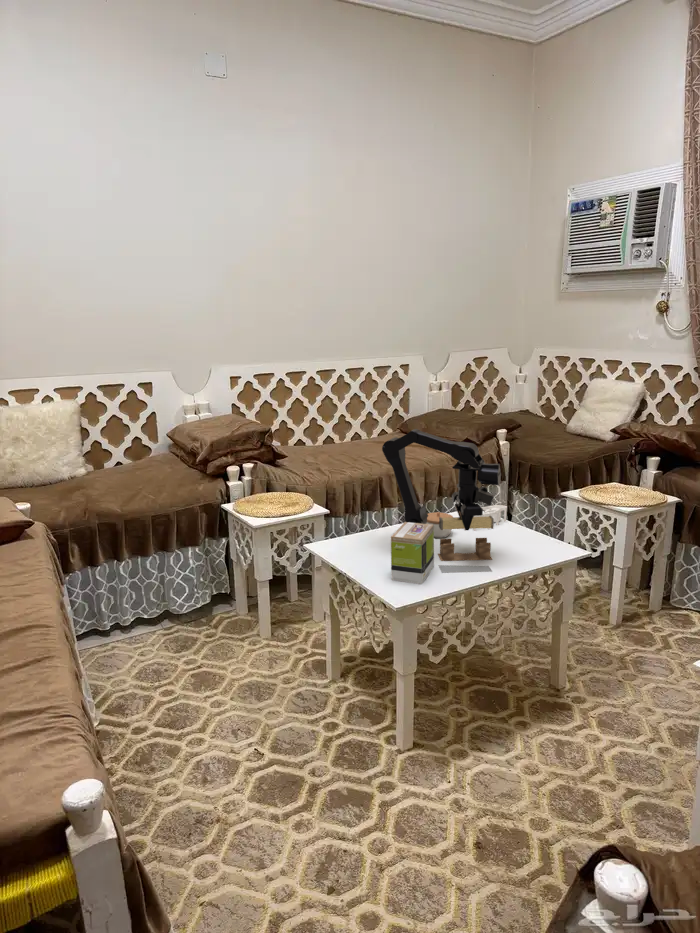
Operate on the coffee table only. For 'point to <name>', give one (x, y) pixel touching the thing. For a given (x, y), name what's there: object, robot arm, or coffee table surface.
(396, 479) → the robot arm
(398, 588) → the coffee table surface
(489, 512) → the skeletal toy car
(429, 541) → the tea box
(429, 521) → the lidded jar
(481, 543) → the stand
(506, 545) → the coffee table surface
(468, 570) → the mat
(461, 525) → the rail
